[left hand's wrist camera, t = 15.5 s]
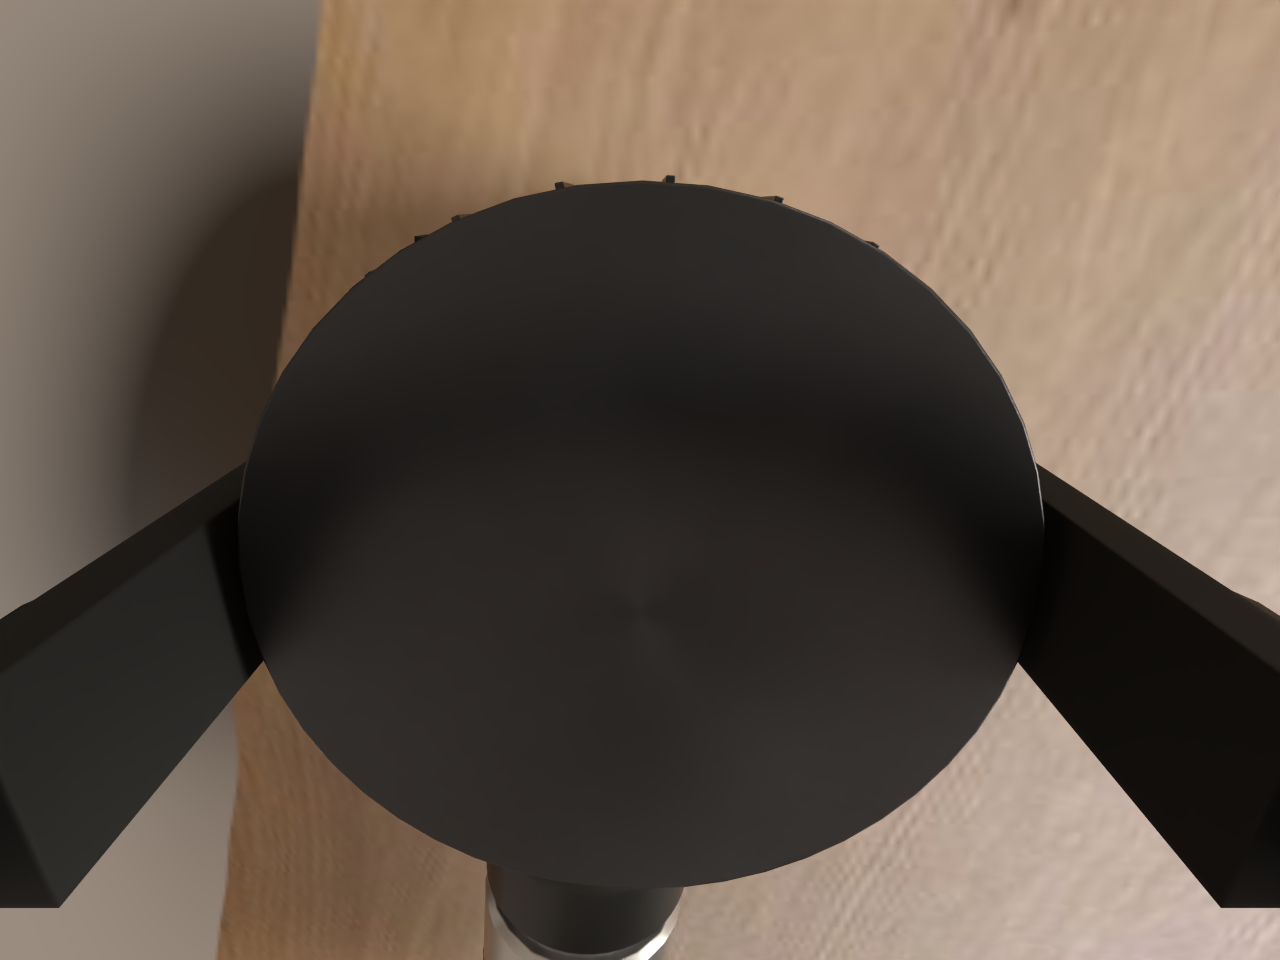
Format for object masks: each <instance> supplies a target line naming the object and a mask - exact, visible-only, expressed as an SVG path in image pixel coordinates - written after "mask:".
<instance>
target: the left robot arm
mask: <svg viewBox="0 0 1280 960" xmlns="http://www.w3.org/2000/svg"><path fill="white" fill-rule="evenodd" d="M246 462H247V461H246ZM246 462H245V463H243V464H242V465H240V466H239V467H237V468H236V469H234V470H233V471H231V472H229V473H228V474H226V475H225V476H223V477H222V478H220V479H219V480H217V481H216V482H214V483H213V484H211V485H210V486H208V487H206V488H205V489H203V490H202V491H200V492H199V493H197V494H196V495H194V496H193V497H191V498H190V499H188V500H186V501H185V502H183V503H182V504H180V505H179V506H177V507H176V508H174V509H173V510H171V511H170V512H168V513H167V514H165V515H164V516H162V517H160V518H159V519H157V520H156V521H154V522H153V523H151V524H150V525H148V526H147V527H145V528H144V529H142V530H141V531H139V532H138V533H136V534H134V535H133V536H131V537H130V538H128V539H127V540H125V541H124V542H122V543H121V544H119V545H118V546H116V547H114V548H113V549H111V550H110V551H108V552H107V553H105V554H104V555H102V556H101V557H99V558H98V559H96V560H95V561H93V562H91V563H90V564H88V565H87V566H85V567H84V568H82V569H81V570H79V571H78V572H76V573H75V574H73V575H72V576H70V577H68V578H67V579H65V580H64V581H62V582H61V583H59V584H58V585H56V586H55V587H53V588H52V589H50V590H49V591H47V592H46V593H44V594H42V595H41V596H39V597H38V598H36V599H35V600H33V601H31V602H28V603H26V604H24V605H22V606H20V607H19V608H17V609H16V610H14V611H12V612H11V613H9V614H8V615H6V616H5V617H3V618H2V619H0V908H59V907H60V906H61V905H62V904H63V902H64V901H65V900H66V899H67V898H68V896H69V895H70V894H71V893H72V892H73V890H74V889H75V888H76V887H77V886H78V884H79V883H80V882H81V881H82V879H83V878H84V877H85V876H86V875H87V873H88V872H89V871H90V870H91V868H92V867H93V866H94V865H95V864H96V863H97V861H98V860H99V859H100V858H101V856H102V855H103V854H104V853H105V852H106V850H107V849H108V848H109V847H110V846H111V844H112V843H113V842H114V841H115V840H116V838H117V837H118V836H119V835H120V833H121V832H122V831H123V830H124V829H125V827H126V826H127V825H128V824H129V823H130V821H131V820H132V819H133V818H134V817H135V815H136V814H137V813H138V812H139V810H140V809H141V808H142V807H143V806H144V804H145V803H146V802H147V801H148V799H149V798H150V797H151V796H152V795H153V793H154V792H155V791H156V790H157V789H158V787H159V786H160V785H161V784H162V783H163V781H164V780H165V779H166V778H167V777H168V775H169V774H170V773H171V772H172V771H173V769H174V768H175V767H176V766H177V764H178V763H179V762H180V761H181V760H182V758H183V757H184V756H185V755H186V754H187V752H188V751H189V750H190V749H191V748H192V746H193V745H194V744H195V743H196V741H197V740H198V739H199V738H200V737H201V735H202V734H203V733H204V732H205V731H206V729H207V728H208V727H209V726H210V724H211V723H212V722H213V721H214V720H215V718H216V717H217V716H218V715H219V714H220V712H221V711H222V710H223V709H224V708H225V706H226V705H227V704H228V703H229V701H230V700H231V699H232V698H233V697H234V695H235V694H236V693H237V692H238V691H239V689H240V688H241V687H242V686H243V685H244V683H245V682H246V681H247V680H248V679H249V677H250V676H251V675H252V674H253V672H254V671H255V670H256V669H257V668H258V666H259V665H260V664H261V663H262V662H263V658H262V656H261V654H260V651H259V648H258V645H257V642H256V639H255V635H254V632H253V629H252V626H251V623H250V620H249V617H248V614H247V611H246V605H245V599H244V593H243V588H242V582H241V576H240V570H239V557H238V512H239V505H240V498H241V490H242V483H243V475H244V469H245V465H246ZM1036 466H1037V469H1038V474H1039V482H1040V490H1041V498H1042V505H1043V513H1044V552H1043V571H1042V576H1041V582H1040V587H1039V593H1038V598H1037V604H1036V610H1035V614H1034V617H1033V620H1032V623H1031V626H1030V629H1029V632H1028V635H1027V638H1026V641H1025V644H1024V647H1023V650H1022V653H1021V656H1020V658H1019V660H1018V663H1019V664H1020V665H1021V666H1022V668H1023V669H1024V670H1025V671H1026V672H1027V674H1028V675H1029V676H1030V677H1031V679H1032V680H1033V681H1034V682H1035V683H1036V685H1037V686H1038V687H1039V688H1040V689H1041V691H1042V692H1043V693H1044V694H1045V695H1046V697H1047V698H1048V699H1049V700H1050V702H1051V703H1052V704H1053V705H1054V706H1055V708H1056V709H1057V710H1058V711H1059V712H1060V714H1061V715H1062V716H1063V717H1064V718H1065V720H1066V721H1067V722H1068V723H1069V725H1070V726H1071V727H1072V728H1073V729H1074V731H1075V732H1076V733H1077V734H1078V735H1079V737H1080V738H1081V739H1082V740H1083V741H1084V743H1085V744H1086V745H1087V746H1088V748H1089V749H1090V750H1091V751H1092V752H1093V754H1094V755H1095V756H1096V757H1097V758H1098V760H1099V761H1100V762H1101V763H1102V764H1103V766H1104V767H1105V768H1106V769H1107V771H1108V772H1109V773H1110V774H1111V775H1112V777H1113V778H1114V779H1115V780H1116V781H1117V783H1118V784H1119V785H1120V786H1121V787H1122V789H1123V790H1124V791H1125V792H1126V794H1127V795H1128V796H1129V797H1130V798H1131V800H1132V801H1133V802H1134V803H1135V804H1136V806H1137V807H1138V808H1139V809H1140V810H1141V812H1142V813H1143V814H1144V815H1145V817H1146V818H1147V819H1148V820H1149V821H1150V823H1151V824H1152V825H1153V826H1154V827H1155V829H1156V830H1157V831H1158V832H1159V833H1160V835H1161V836H1162V837H1163V838H1164V840H1165V841H1166V842H1167V843H1168V844H1169V846H1170V847H1171V848H1172V849H1173V850H1174V852H1175V853H1176V854H1177V855H1178V856H1179V858H1180V859H1181V860H1182V861H1183V863H1184V864H1185V865H1186V866H1187V867H1188V869H1189V870H1190V871H1191V872H1192V873H1193V875H1194V876H1195V877H1196V878H1197V879H1198V881H1199V882H1200V883H1201V884H1202V886H1203V887H1204V888H1205V889H1206V890H1207V892H1208V893H1209V894H1210V895H1211V896H1212V898H1213V899H1214V900H1215V901H1216V902H1217V904H1218V905H1219V906H1220V907H1221V908H1280V616H1279V615H1277V614H1276V613H1274V612H1273V611H1271V610H1270V609H1268V608H1267V607H1265V606H1263V605H1262V604H1260V603H1259V602H1256V601H1254V600H1252V599H1249V598H1247V597H1245V596H1243V595H1240V594H1238V593H1236V592H1233V591H1231V590H1230V589H1228V588H1227V587H1225V586H1224V585H1222V584H1221V583H1219V582H1218V581H1216V580H1215V579H1213V578H1212V577H1210V576H1208V575H1207V574H1205V573H1204V572H1202V571H1201V570H1199V569H1198V568H1196V567H1195V566H1193V565H1192V564H1190V563H1189V562H1187V561H1185V560H1184V559H1182V558H1181V557H1179V556H1178V555H1176V554H1175V553H1173V552H1172V551H1170V550H1169V549H1167V548H1166V547H1164V546H1162V545H1161V544H1159V543H1158V542H1156V541H1155V540H1153V539H1152V538H1150V537H1149V536H1147V535H1146V534H1144V533H1143V532H1141V531H1140V530H1138V529H1136V528H1135V527H1133V526H1132V525H1130V524H1129V523H1127V522H1126V521H1124V520H1123V519H1121V518H1120V517H1118V516H1117V515H1115V514H1113V513H1112V512H1110V511H1109V510H1107V509H1106V508H1104V507H1103V506H1101V505H1100V504H1098V503H1097V502H1095V501H1094V500H1092V499H1090V498H1089V497H1087V496H1086V495H1084V494H1083V493H1081V492H1080V491H1078V490H1077V489H1075V488H1074V487H1072V486H1071V485H1069V484H1067V483H1066V482H1064V481H1063V480H1061V479H1060V478H1058V477H1057V476H1055V475H1054V474H1052V473H1051V472H1049V471H1048V470H1046V469H1044V468H1043V467H1041V466H1040V465H1038V464H1037V463H1036Z"/></svg>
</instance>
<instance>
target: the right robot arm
mask: <svg viewBox="0 0 1280 960" xmlns="http://www.w3.org/2000/svg"><path fill="white" fill-rule="evenodd" d="M428 235H429V234H428ZM426 236H427V235H421V236H415V242H417V241H418V240H420V239H422V238H424V237H426ZM683 888H684V887H675V888H652V889H628V888H608V887H594V886H587V885H580V884H573V883H566V882H559V881H553V880H549V879H545V878H541V877H536V876H532V875H528V874H524V873H520V872H515V871H512V870H509V869H506V868H503V867H500V866H498V865H495V864H492V863H489V862H487V876H486V886H485V923H484V949H483V960H669V958H670V953H671V949H672V944H673V940H674V935H675V930H676V926H677V921H678V917H679V912H680V907H681V897H682V892H683Z"/></svg>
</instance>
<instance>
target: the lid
mask: <svg viewBox="0 0 1280 960" xmlns="http://www.w3.org/2000/svg"><path fill="white" fill-rule="evenodd" d="M555 188H556V190H552V191H547V192H542V193H538V194H533V195H528V196H524V197H519V198H514V199H511V200H509V201H506V202H503V203H501V204H498V205H495V206H493V207H490V208H487V209H485V210H482V211H479V212H476V213H474V214H464V215H456V216H454V217H452V218H451V219H452V221H453V222H451V223H449V224H447V225H446V226H444V227H442V228H440V229H438V230H437V231H435V232H433V233H431V234H429V235H427V236H426V237H424V238H422V239H420V240H418V241H417V242H415V243H413V244H411V245H409V246H407V247H406V248H404V249H402V250H400V251H399V252H398V253H396V254H395V255H394V256H392V257H391V258H390V259H388V260H387V261H386V262H385V263H383V264H382V265H381V266H379V267H378V268H377V269H375V270H372V271H369V272H368V273H367V274H366V275H365V278H364V279H362V280H361V281H360V282H358V283H357V284H356V285H354V286H353V287H352V288H351V289H350V290H349V291H348V292H347V293H346V294H345V295H344V296H343V298H342V299H341V300H340V301H339V302H338V303H337V304H336V305H335V306H334V307H333V308H332V309H331V310H330V311H329V312H328V313H327V314H326V315H325V316H324V317H323V318H322V319H321V320H320V322H319V323H318V324H317V325H316V326H315V327H314V328H313V329H312V331H311V332H310V333H309V335H308V336H307V338H306V339H305V341H304V342H303V343H302V345H301V346H300V348H299V349H298V351H297V352H296V354H295V355H294V356H293V358H292V359H291V361H290V362H289V364H288V365H287V366H286V368H285V369H284V371H283V372H282V374H281V376H280V378H279V380H278V382H277V384H276V386H275V388H274V390H273V393H272V395H271V397H270V399H269V401H268V403H267V405H266V407H265V409H264V411H263V413H262V415H261V417H260V419H259V422H258V425H257V429H256V432H255V435H254V439H253V442H252V446H251V449H250V452H249V456H248V459H247V462H246V465H245V469H244V475H243V483H242V490H241V498H240V505H239V512H238V557H239V570H240V576H241V582H242V588H243V593H244V599H245V605H246V611H247V614H248V617H249V620H250V623H251V626H252V629H253V632H254V635H255V639H256V642H257V645H258V648H259V651H260V654H261V656H262V658H263V660H264V662H265V664H266V666H267V668H268V670H269V672H270V674H271V676H272V679H273V681H274V683H275V685H276V687H277V689H278V691H279V693H280V695H281V696H282V698H283V699H284V701H285V702H286V704H287V705H288V707H289V708H290V710H291V711H292V713H293V714H294V716H295V717H296V719H297V720H298V722H299V723H300V725H301V727H302V728H303V730H304V731H305V732H306V733H307V734H308V736H309V737H310V738H311V739H312V740H313V741H314V743H315V744H316V745H317V746H318V747H319V748H320V750H321V751H322V752H323V753H324V754H325V756H326V757H327V758H328V759H329V760H330V761H331V763H332V764H333V765H335V766H336V767H337V768H338V769H339V770H340V771H341V772H342V773H343V774H344V775H345V776H346V777H347V778H349V779H350V780H351V781H352V782H353V783H354V784H355V785H356V786H357V787H358V788H359V789H360V790H361V791H363V792H364V793H365V794H366V795H368V796H369V797H370V798H372V799H373V800H374V801H376V802H377V803H379V804H380V805H381V806H383V807H384V808H385V809H387V810H388V811H389V812H391V813H392V814H393V815H395V816H396V817H397V818H399V819H401V820H402V821H404V822H406V823H408V824H409V825H411V826H413V827H414V828H416V829H418V830H419V831H421V832H423V833H425V834H426V835H428V836H430V837H431V838H433V839H435V840H437V841H439V842H441V843H443V844H446V845H448V846H450V847H452V848H454V849H457V850H459V851H461V852H463V853H465V854H468V855H470V856H472V857H474V858H477V859H480V860H483V861H486V862H489V863H492V864H495V865H498V866H500V867H503V868H506V869H509V870H512V871H515V872H520V873H524V874H528V875H532V876H536V877H541V878H545V879H549V880H553V881H559V882H566V883H573V884H580V885H587V886H594V887H608V888H628V889H652V888H675V887H687V886H695V885H702V884H709V883H716V882H724V881H728V880H732V879H737V878H741V877H745V876H750V875H754V874H758V873H762V872H766V871H769V870H772V869H775V868H778V867H781V866H784V865H787V864H790V863H793V862H796V861H799V860H802V859H805V858H807V857H810V856H812V855H814V854H816V853H818V852H821V851H823V850H825V849H827V848H830V847H832V846H834V845H836V844H838V843H841V842H843V841H845V840H847V839H848V838H850V837H852V836H854V835H855V834H857V833H859V832H861V831H862V830H864V829H866V828H867V827H869V826H871V825H873V824H874V823H876V822H878V821H880V820H881V819H883V818H884V817H885V816H887V815H888V814H890V813H891V812H892V811H894V810H895V809H896V808H898V807H899V806H901V805H902V804H903V803H905V802H906V801H907V800H909V799H910V798H911V797H913V796H914V795H916V794H917V793H918V792H919V791H920V790H921V789H922V788H923V787H924V786H926V785H927V784H928V783H929V782H930V781H931V780H932V779H933V778H934V777H935V776H936V775H938V774H939V773H940V772H941V771H942V770H943V769H944V768H945V767H946V766H947V765H948V764H949V763H950V762H951V761H952V760H953V759H954V757H955V756H956V755H957V754H958V753H959V752H960V751H961V749H962V748H963V747H964V746H965V745H966V744H967V742H968V741H969V740H970V739H971V738H972V737H973V735H974V734H975V733H976V732H977V731H978V729H979V728H980V726H981V725H982V723H983V722H984V720H985V719H986V717H987V716H988V714H989V713H990V711H991V710H992V708H993V707H994V705H995V704H996V702H997V701H998V699H999V698H1000V696H1001V694H1002V692H1003V690H1004V688H1005V686H1006V684H1007V682H1008V680H1009V678H1010V676H1011V674H1012V672H1013V670H1014V668H1015V666H1016V664H1017V662H1018V660H1019V658H1020V656H1021V653H1022V650H1023V647H1024V644H1025V641H1026V638H1027V635H1028V632H1029V629H1030V626H1031V623H1032V620H1033V617H1034V614H1035V610H1036V604H1037V598H1038V593H1039V587H1040V582H1041V576H1042V571H1043V552H1044V513H1043V505H1042V498H1041V490H1040V482H1039V474H1038V469H1037V466H1036V462H1035V459H1034V456H1033V452H1032V449H1031V445H1030V442H1029V438H1028V435H1027V431H1026V428H1025V425H1024V422H1023V420H1022V418H1021V415H1020V413H1019V411H1018V409H1017V407H1016V405H1015V403H1014V401H1013V398H1012V396H1011V394H1010V392H1009V390H1008V388H1007V386H1006V384H1005V382H1004V379H1003V377H1002V375H1001V374H1000V372H999V371H998V369H997V368H996V366H995V365H994V364H993V362H992V361H991V359H990V358H989V356H988V355H987V353H986V352H985V350H984V349H983V347H982V346H981V345H980V343H979V342H978V340H977V339H976V337H975V336H974V334H973V333H972V331H971V330H970V329H969V328H968V327H967V326H966V325H965V324H964V323H963V322H962V320H961V319H960V318H959V317H958V316H957V315H956V314H955V313H954V312H953V311H952V310H951V309H950V308H949V307H948V306H947V305H946V304H945V302H944V301H943V300H942V299H941V298H940V297H939V296H938V295H937V294H936V293H935V292H934V291H933V290H932V289H931V288H930V287H929V286H927V285H926V284H925V283H924V282H922V281H921V280H920V279H918V278H917V277H916V276H915V275H913V274H912V273H911V272H909V271H908V270H907V269H906V268H904V267H903V266H902V265H900V264H899V263H898V262H897V261H895V260H894V259H893V258H891V257H890V256H889V255H888V254H886V253H885V252H883V251H882V250H880V249H878V248H879V246H878V245H877V244H875V243H874V242H870V241H864V240H862V239H860V238H858V237H857V236H855V235H853V234H851V233H849V232H848V231H846V230H844V229H842V228H841V227H839V226H837V225H835V224H833V223H832V222H829V221H827V220H824V219H821V218H819V217H816V216H814V215H811V214H808V213H806V212H803V211H800V210H798V209H795V208H793V207H790V206H787V205H785V204H782V203H783V200H784V199H783V198H781V197H778V196H767V197H758V196H754V195H749V194H744V193H740V192H735V191H731V190H726V189H722V188H717V187H713V186H708V185H696V184H682V183H675V176H671V175H667V176H666V177H665V178H664V179H663V180H662V182H656V181H629V182H614V183H599V184H584V185H572V184H569V183H565V182H558V183H555Z"/></svg>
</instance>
